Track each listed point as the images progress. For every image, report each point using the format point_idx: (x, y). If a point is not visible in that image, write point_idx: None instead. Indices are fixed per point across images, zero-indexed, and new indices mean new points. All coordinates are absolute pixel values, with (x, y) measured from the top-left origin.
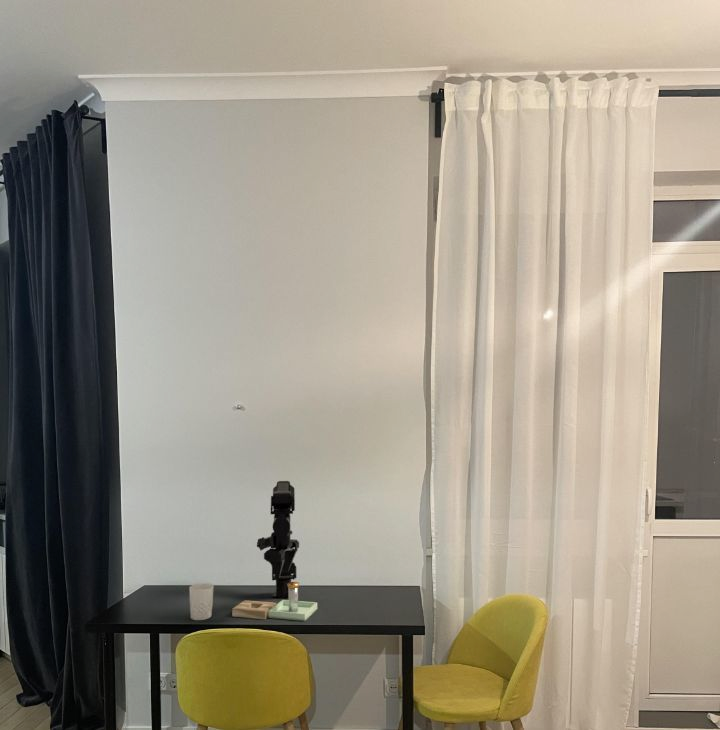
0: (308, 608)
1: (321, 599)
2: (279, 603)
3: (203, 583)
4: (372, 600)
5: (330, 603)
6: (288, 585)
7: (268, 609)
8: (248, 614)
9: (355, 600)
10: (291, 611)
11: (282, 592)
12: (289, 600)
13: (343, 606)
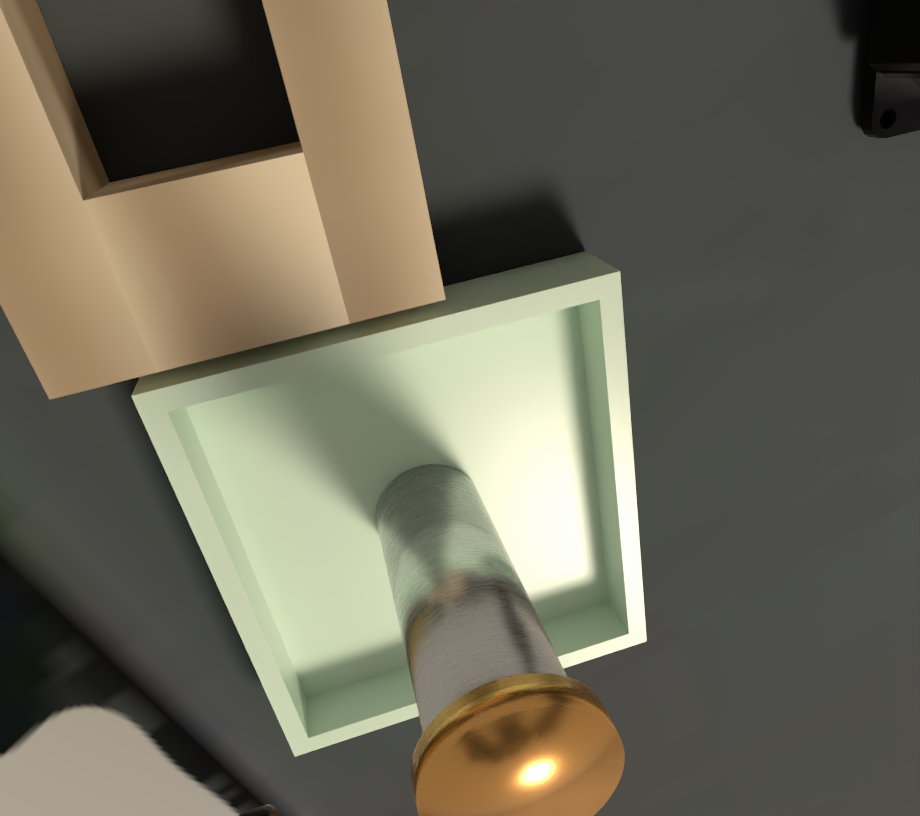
0: (570, 569)
1: (877, 470)
2: (474, 327)
3: None
4: (895, 757)
5: (786, 591)
6: (423, 768)
7: (174, 364)
8: None
9: (883, 684)
10: (379, 534)
11: (911, 62)
12: (398, 589)
13: (738, 701)
